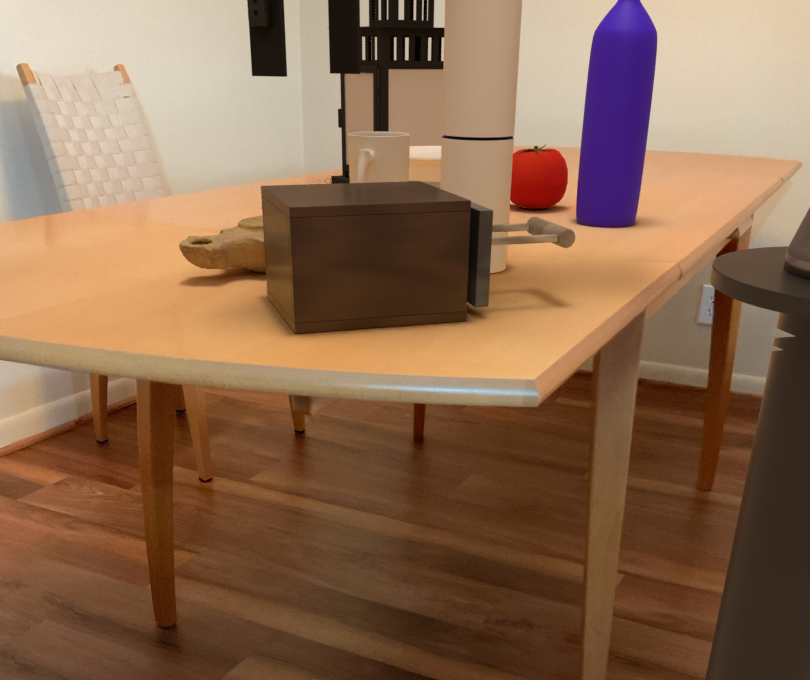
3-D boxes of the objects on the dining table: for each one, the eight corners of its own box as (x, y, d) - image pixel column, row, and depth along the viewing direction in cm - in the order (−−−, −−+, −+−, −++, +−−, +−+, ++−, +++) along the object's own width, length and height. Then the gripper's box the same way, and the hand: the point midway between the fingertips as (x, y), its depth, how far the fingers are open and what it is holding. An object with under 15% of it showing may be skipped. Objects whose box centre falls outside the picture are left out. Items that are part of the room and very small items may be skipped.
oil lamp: (175, 283, 88) (169, 229, 86) (238, 256, 100) (235, 207, 98) (277, 291, 85) (274, 236, 83) (330, 262, 98) (328, 213, 95)
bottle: (638, 228, 118) (672, -46, 104) (573, 226, 120) (598, -45, 105) (635, 218, 126) (666, -39, 111) (574, 216, 127) (597, -39, 113)
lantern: (331, 183, 156) (324, -61, 140) (418, 178, 164) (422, -54, 147) (378, 195, 143) (377, -72, 127) (471, 189, 151) (481, -64, 134)
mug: (361, 240, 109) (360, 130, 103) (415, 244, 107) (417, 132, 102) (331, 256, 100) (327, 137, 95) (388, 260, 99) (389, 139, 93)
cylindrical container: (434, 272, 94) (441, -13, 82) (441, 258, 100) (449, -8, 88) (504, 275, 93) (521, -12, 81) (507, 261, 99) (523, -8, 87)
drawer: (527, 273, 89) (533, 188, 86) (581, 300, 80) (591, 206, 76) (303, 286, 83) (300, 196, 80) (333, 317, 74) (330, 216, 70)
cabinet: (419, 288, 87) (420, 180, 83) (466, 321, 77) (471, 200, 72) (267, 297, 83) (260, 185, 79) (295, 333, 73) (289, 206, 68)
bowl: (474, 209, 132) (477, 145, 128) (514, 227, 118) (518, 156, 114) (366, 212, 128) (366, 146, 124) (395, 232, 114) (395, 158, 110)
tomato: (561, 203, 138) (566, 143, 134) (571, 214, 129) (576, 149, 125) (499, 202, 138) (502, 142, 134) (504, 213, 129) (508, 148, 125)
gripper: (329, -206, 78) (335, 72, 88) (152, -299, 58) (187, 76, 68) (410, -214, 76) (407, 73, 86) (255, -313, 55) (275, 78, 65)
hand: (310, 75), depth 77 cm, fingers open, 13 cm apart
